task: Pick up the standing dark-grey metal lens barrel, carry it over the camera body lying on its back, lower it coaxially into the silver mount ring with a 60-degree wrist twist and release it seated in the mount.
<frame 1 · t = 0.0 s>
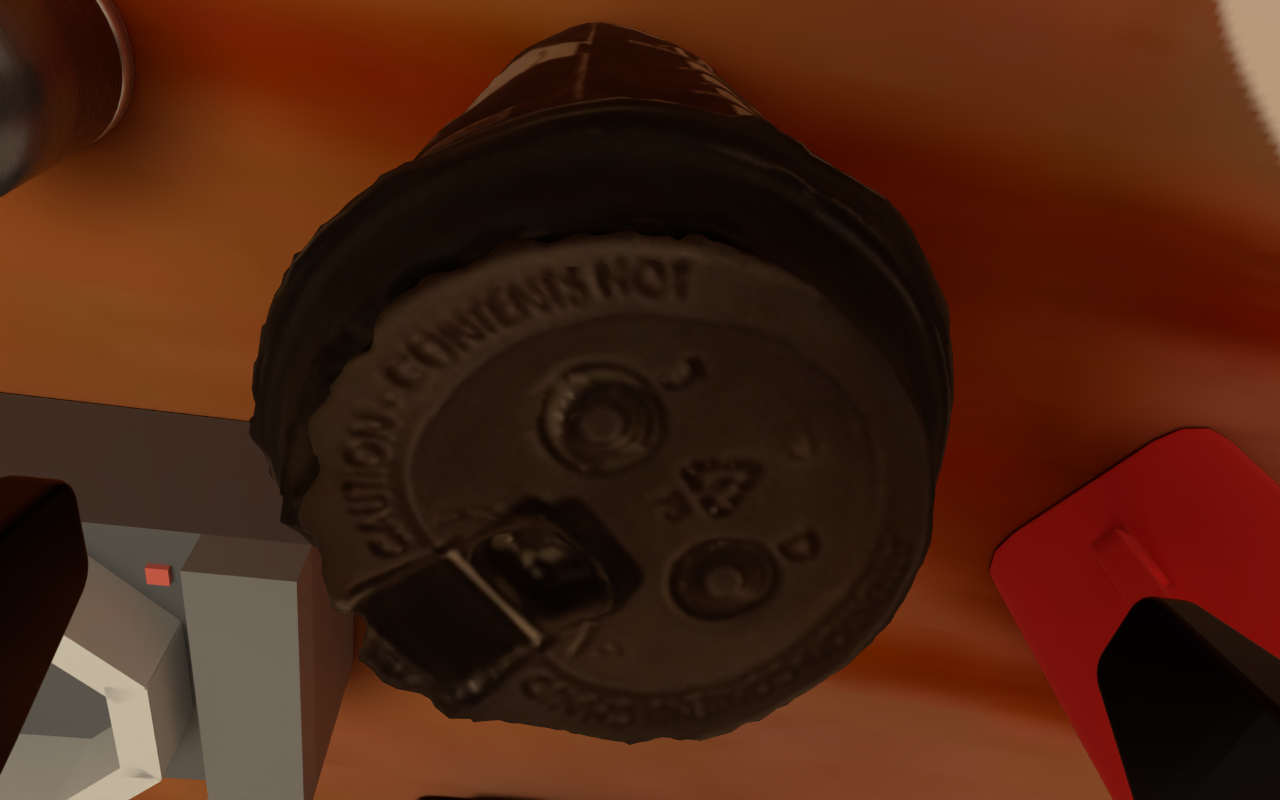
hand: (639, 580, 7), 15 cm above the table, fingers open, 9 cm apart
mug: (1108, 518, 27), on the table
coffee cup: (603, 166, 21), on the table
camera body: (141, 537, 26), on the table
lens: (18, 40, 19), on the table
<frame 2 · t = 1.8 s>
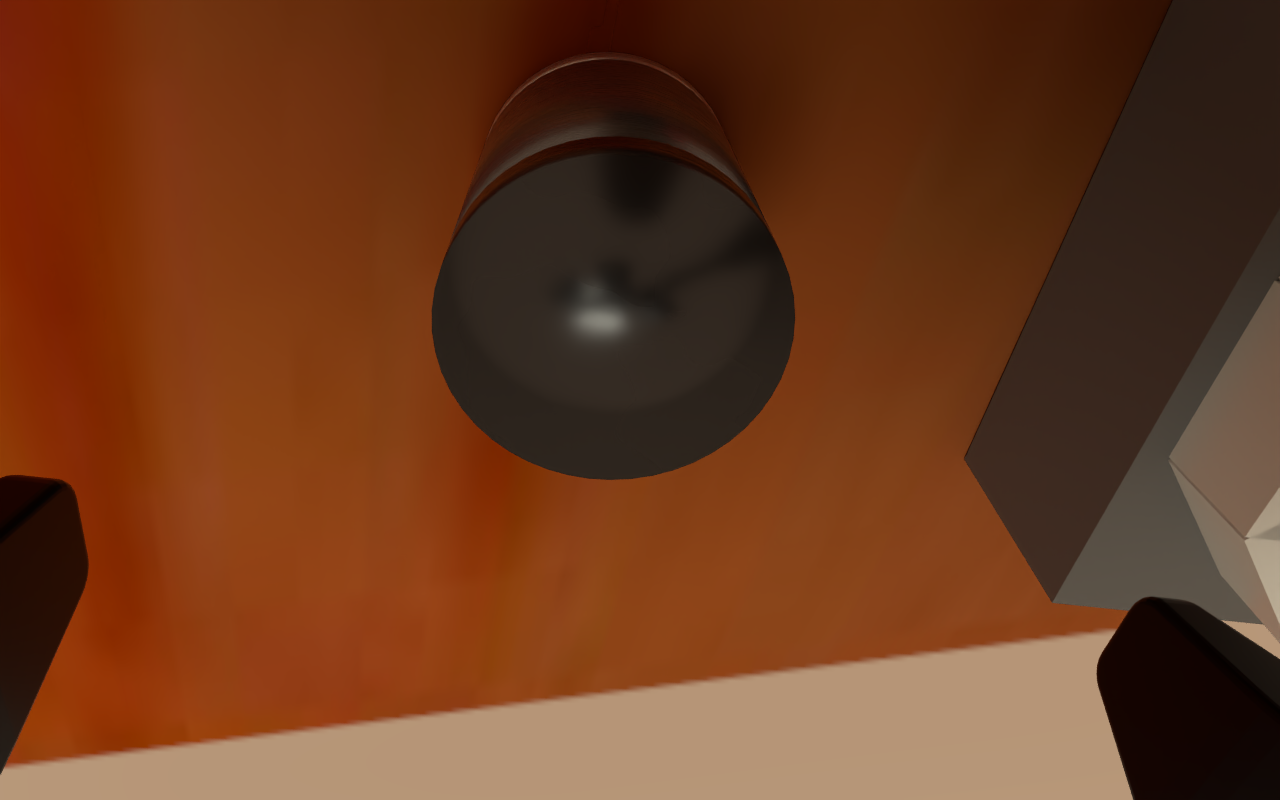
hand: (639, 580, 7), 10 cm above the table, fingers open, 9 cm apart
lens: (607, 183, 16), on the table
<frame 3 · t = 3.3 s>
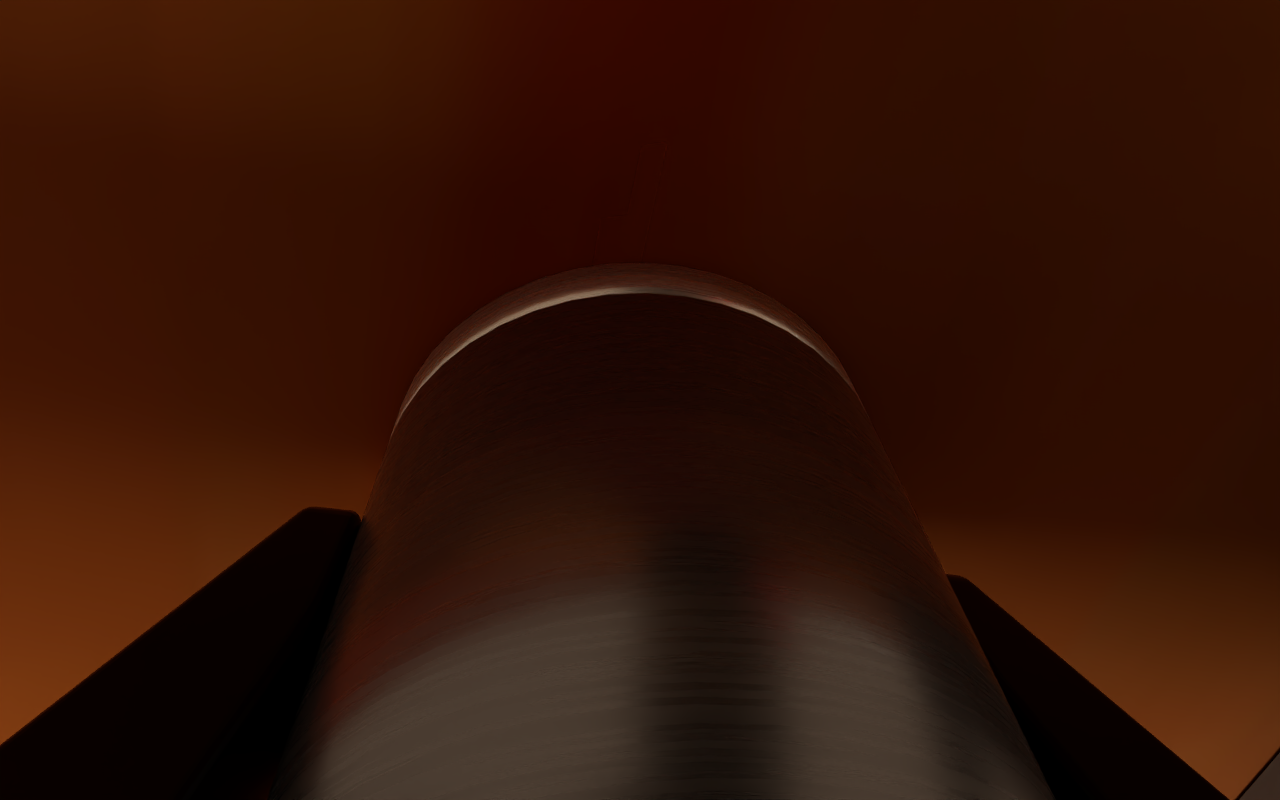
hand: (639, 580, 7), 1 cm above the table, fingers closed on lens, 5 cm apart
lens: (631, 481, 9), on the table, touching gripper
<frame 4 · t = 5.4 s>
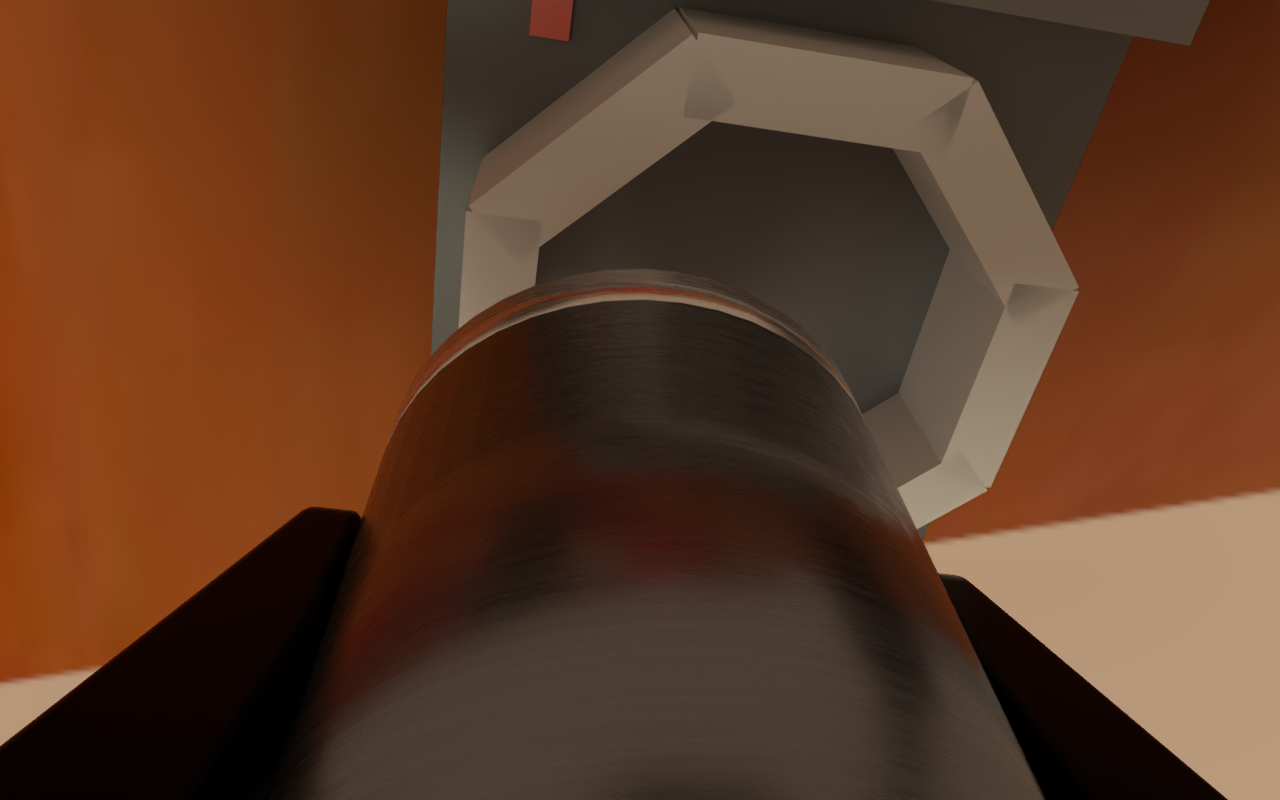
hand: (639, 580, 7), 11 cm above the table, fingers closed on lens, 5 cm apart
camera body: (709, 153, 17), on the table
lens: (629, 487, 9), point 10 cm above the table, touching gripper
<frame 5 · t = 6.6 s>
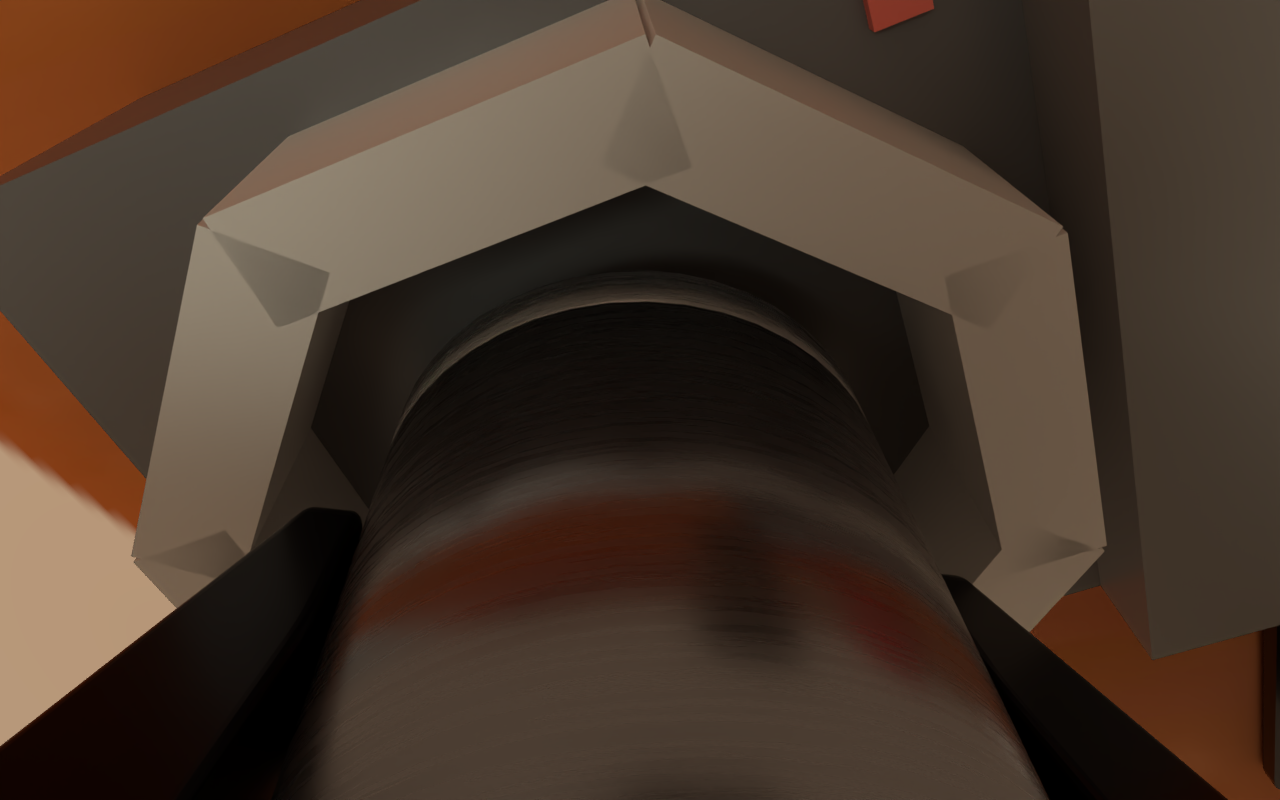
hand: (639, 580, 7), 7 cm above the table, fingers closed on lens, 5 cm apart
camera body: (678, 236, 13), on the table
lens: (632, 488, 9), point 5 cm above the table, touching gripper
when the fingers open (7 cm above the table, at t = 7.2 s): lens stays where it is, resting on camera body.
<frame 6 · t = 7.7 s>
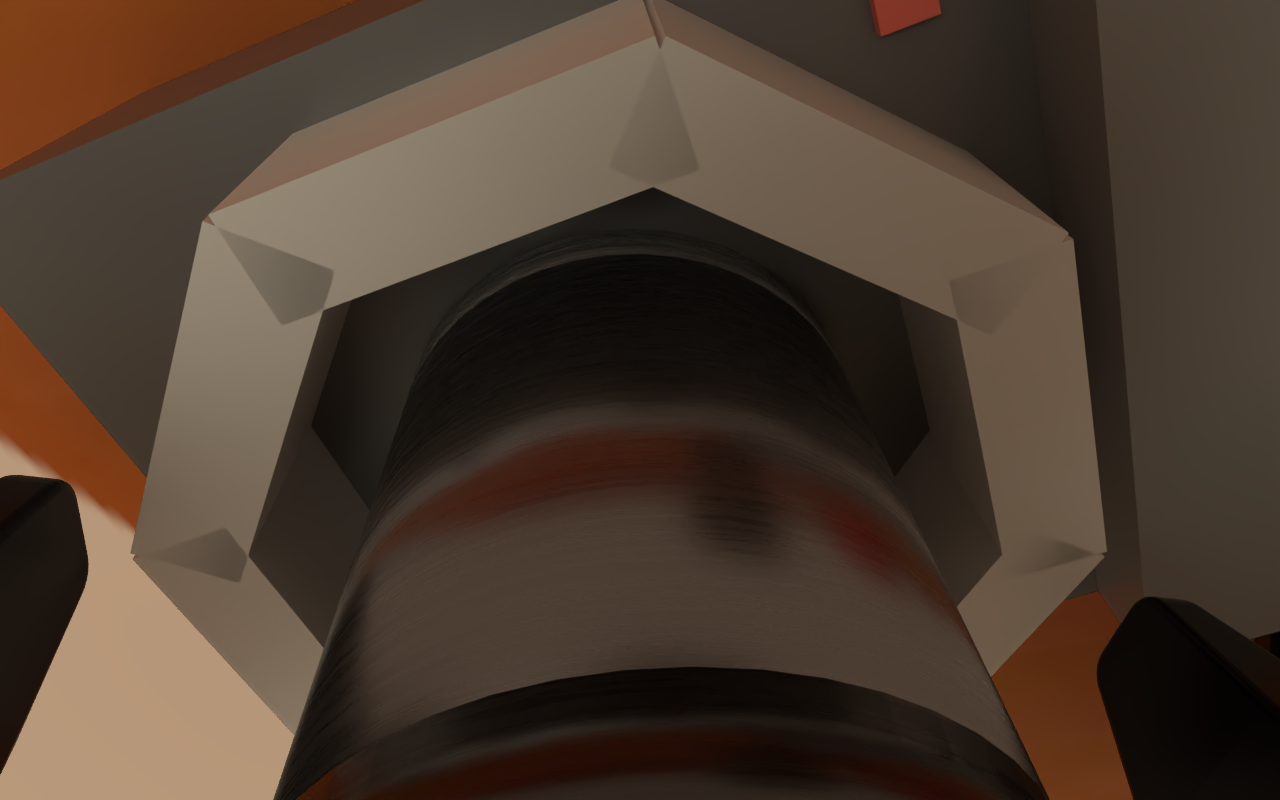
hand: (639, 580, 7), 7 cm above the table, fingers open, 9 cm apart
camera body: (679, 238, 13), on the table
lens: (628, 432, 9), point 4 cm above the table, touching camera body
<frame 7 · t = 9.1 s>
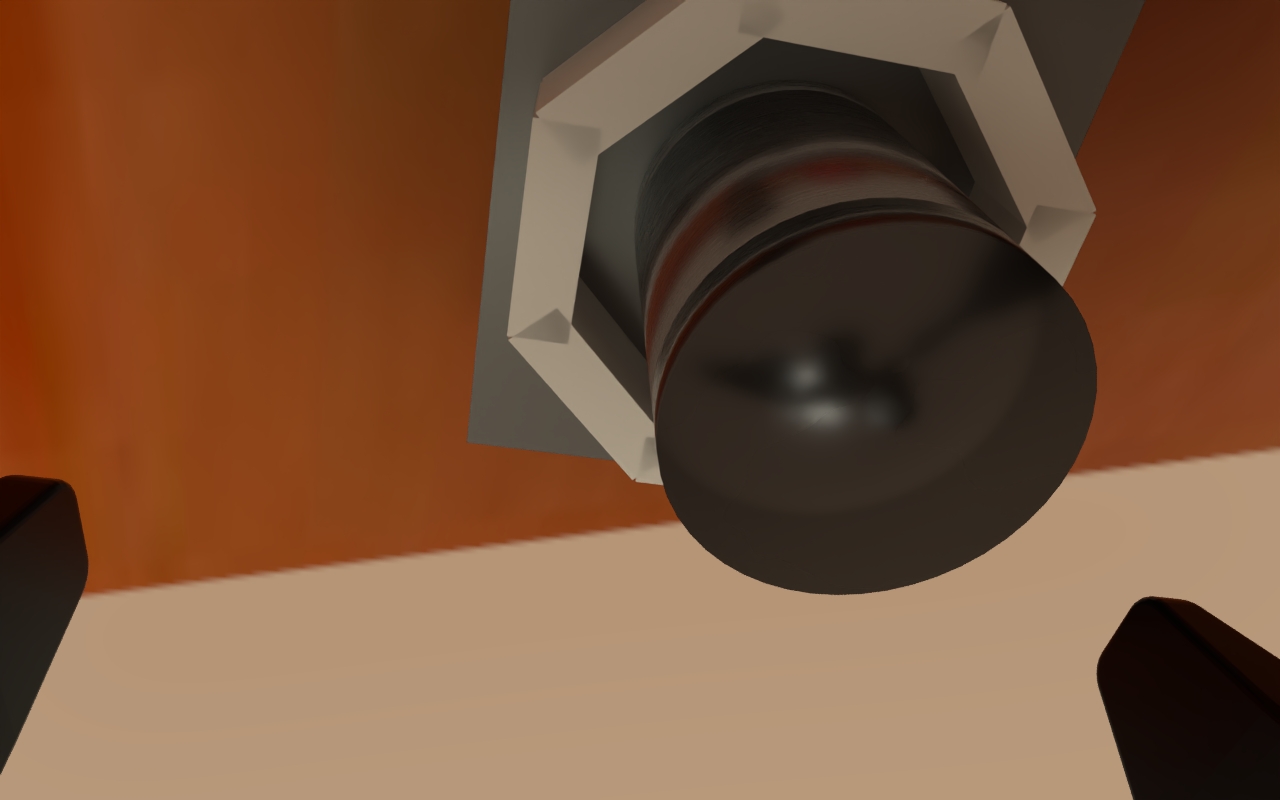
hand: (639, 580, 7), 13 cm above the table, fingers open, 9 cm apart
camera body: (745, 97, 18), on the table
lens: (774, 227, 14), point 4 cm above the table, touching camera body
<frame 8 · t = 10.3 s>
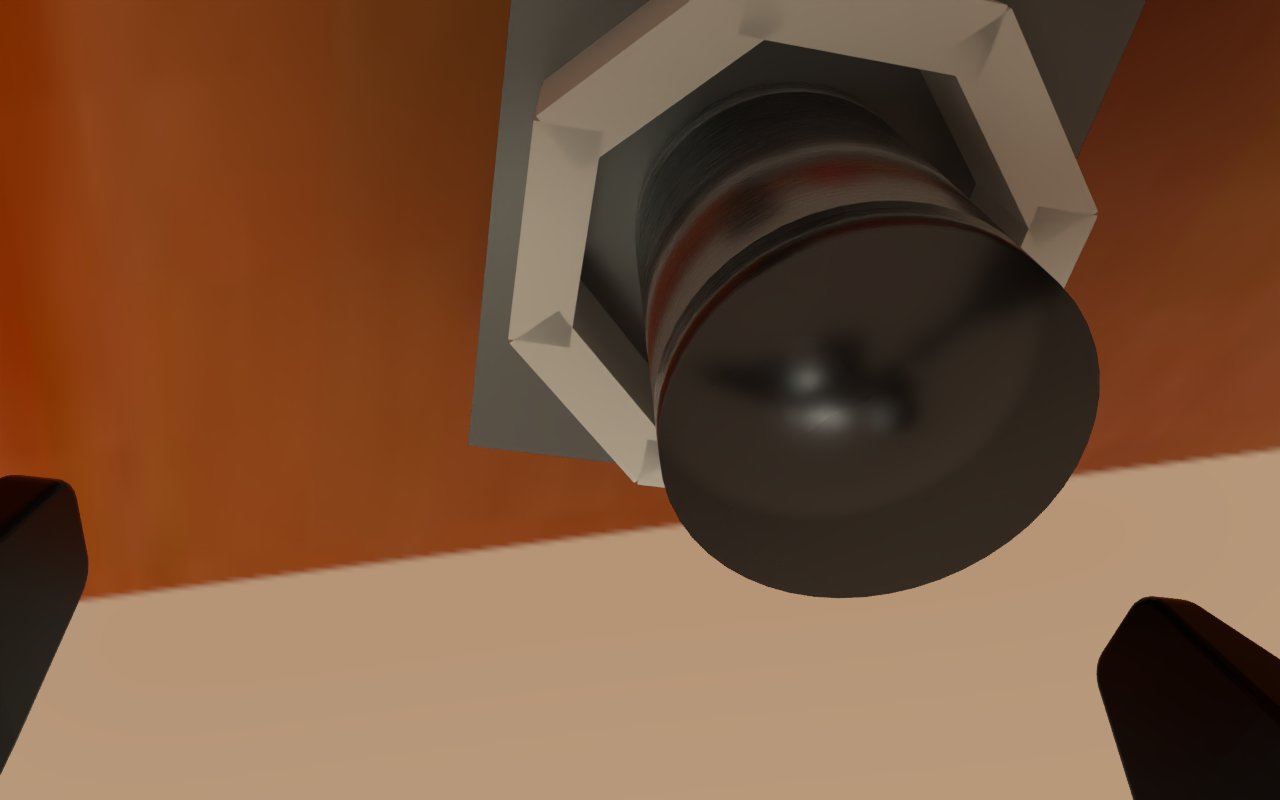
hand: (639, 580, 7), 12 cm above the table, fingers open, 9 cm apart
camera body: (745, 99, 18), on the table
lens: (775, 229, 14), point 4 cm above the table, touching camera body
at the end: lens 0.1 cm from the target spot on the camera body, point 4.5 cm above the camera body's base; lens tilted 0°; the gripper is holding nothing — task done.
